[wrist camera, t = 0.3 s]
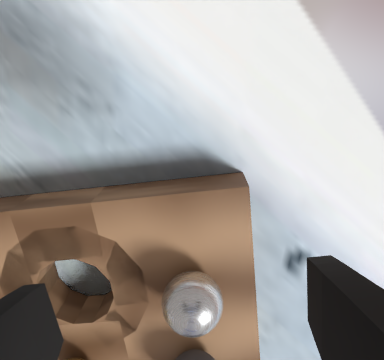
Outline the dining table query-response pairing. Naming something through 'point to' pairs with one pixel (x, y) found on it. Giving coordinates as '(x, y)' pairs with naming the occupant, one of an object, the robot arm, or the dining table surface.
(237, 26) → the dining table surface
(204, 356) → the gray ball
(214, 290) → the steel ball
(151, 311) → the brown wooden hole board
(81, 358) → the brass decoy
